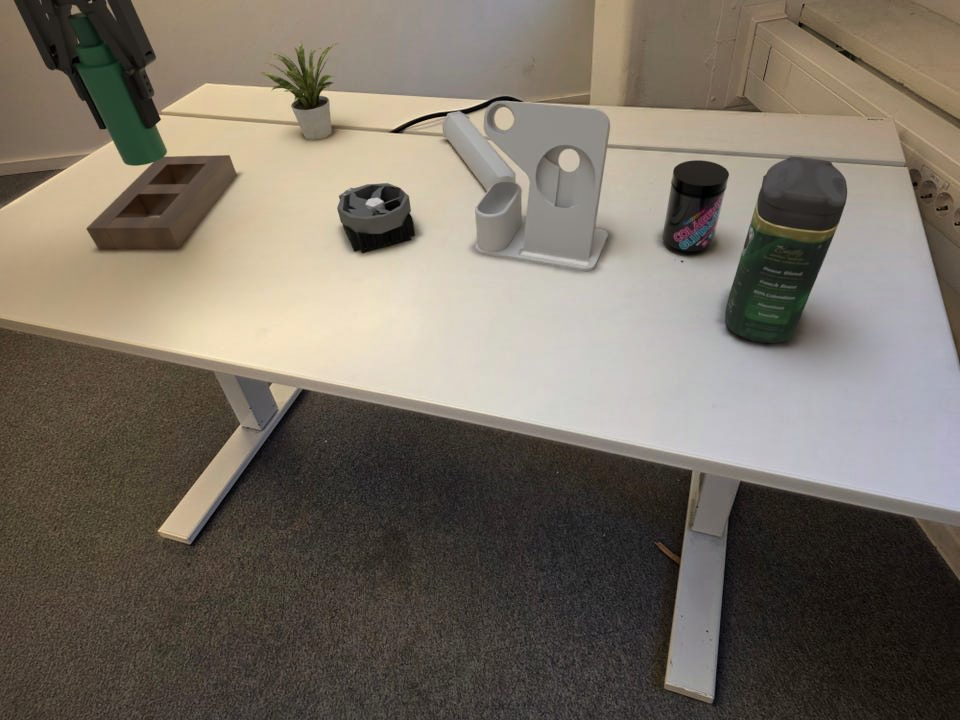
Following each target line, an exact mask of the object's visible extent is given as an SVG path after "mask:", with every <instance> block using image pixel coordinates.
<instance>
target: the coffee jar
mask: <svg viewBox="0 0 960 720" xmlns="http://www.w3.org/2000/svg"><path fill="white" fill-rule="evenodd" d="M847 185H848V184H847V180H846V178H845V176H844V175H843V173H842V172H841V171H840V170H839V169H838V168H837V167H835V165H833V163H832V162H831V161H830V160H823V159H817V158H809V157H803V156H802V157H800V156H788V157H787V158H786V159H783V160H781V161H779V162H777V163H774V164H773V165H771V167H769V168H768V170H767V171H766V173H765V174H764V175H763V177H762V182H761V186H760V190H759V192H758V195H757V199H756V203H755V206H754V210H753V213H752V216H751V220H750V223H749V227H748V230H747V234H746V237H745V240H744V244H743V247H742V251H741V254H740V258H739V261H738V265H737V269H736V272H735V275H734V278H733V282H732V285H731V288H730V292H729V295H728V299H727V302H726V306H725V311H724V316H725V317H724V320H725V321H724V322H725V324H726V327H727V328H728V329H729V331H731V332H732V333H734V334H735V335H738V336H740V337H743V338H744V339H747V340H750V341H753V342H758V343H767V344H769V343H770V344H771V343H772V344H775V343H776V344H777V343H783V342H786V341H788V340H790V339H791V338H792V337H793V336H794V334H795V331H796V329H797V327H798V325H799V322H800V320H801V318H802V314H803V313H804V310H805V307H806V304H807V302H808V300H809V297H810V295H811V293H812V290H813V287H814V286H815V283H816V281H817V278H818V275H819V274H820V271H821V269H822V266H823V263H824V261H825V259H826V256H827V254H828V251H829V249H830V247H831V244H832V241H833V239H834V237H835V233H836V231H837V229H838V226H839V224H840V221H841V219H842V216H843V212H844V209H845V207H846V205H847V204H846V203H847V199H848V186H847Z"/></svg>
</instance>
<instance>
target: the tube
mask: <svg viewBox="0 0 960 720" xmlns="http://www.w3.org/2000/svg"><path fill="white" fill-rule="evenodd" d="M441 124H442V125H441V127H442V136H443V137H444V138H446V139H447V140H448V142H449V143H450V144H451V146H452V147H453V148H454V149H455V151H456V152H457V154H458V155H459V156H460V158H461V159H462V160H463V162H464V163H465V164H466V165H467V167H468V168H469V170H470V171H471V172H472V173H473V175H474V177H476V179H477V180H478V182H479V183H480V184H481V186H482V187H483V188H484V190H485V191H486V192H487V191H488V190H489V188H490V187H491V186H492V185H493V184H495V183H498V182H502V181H510V182H514V183H517V180H516V176H517V175H516V172H515V170H514V169H512V167H511V166H510V164H508V163H507V161H506V160H505V159H504V158H503V157H502V156H501V155H500V153H499V152H498V151H497V150H496V149H495V148H494V147H493V145H492V144H491V143H490V142H489V140H488V139H487V138H486V137H485V136H484V135H483V133H482V132H481V131H480V130H479V129H478V128H477V126H476V125H475V124H474V123H473V122H472V121H471V119H470V116H468V114H465V113H463V112H462V111H460V110H458V111H454V112H453V111H452V112H448V113H447V114H446V116H445V118H444V120H443V121H442V123H441Z"/></svg>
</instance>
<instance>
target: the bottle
mask: <svg viewBox="0 0 960 720" xmlns="http://www.w3.org/2000/svg"><path fill="white" fill-rule="evenodd" d="M68 20H69V22H70V24H71V26H72V29H73V31H74V33H75V35H76V37H77V40H78V44H77V45H76V46H75V49H76V51H77V53H78V55H79V58H80V60H81V62H80V63H78V64H77V66H76V68H77V70H78V72H79V74H80V76H81V78H82V80H83V82H84V84H85V86H86V88H87V90H88V92H89V94H90V96H91V98H92V100H93V102H94V104H95V106H96V108H97V110H98V112H99V114H100V116H101V118H102V120H103V122H104V124H105V126H106V130H107V132H108V134H109V136H110V138H111V140H112V142H113V144H114V146H115V148H116V150H117V153H118V154H119V156H120V158H121V161H122V162H123V164H125V165H127V166H130V167H131V166H133V167H135V166H136V167H138V166H145V165H150V164H152V163H153V162H155V161H157V160H159V159H161V158H163V157H166V156H167V154H168V150H167V147H166V145H165V143H164V140H163V137H162V136H161V133H160V132H159V131H160V130H159V129H158V127H157V126H158V125H157V124H156V125H155V126H153V127H152V128H151V129H145V127H144V124H143V122H142V120H141V118H140V116H139V113H138V111H137V109H136V107H135V104H134V102H133V100H132V98H131V96H130V93H129V91H128V89H127V87H126V85H125V82H124V80H123V78H122V76H121V75H123V72H124V71H125V69H124V67H123V66H122V65H121V63H120V62H119V60H118V59H117V57H116V56H115V55H114V53H113V52H112V50H111V49H110V48H109V46H108V45H107V43H106V42H105V41H104V39H103V38H102V36H101V35H100V33H99V32H98V31H97V29H96V28H95V26H94V25H93V24H92V22H91V21H90V19H89V18H88V17H87V16H86V15H84V14H82V13H81V12H77V13H72V14H71V15H70V16H68Z"/></svg>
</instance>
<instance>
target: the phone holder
mask: <svg viewBox="0 0 960 720" xmlns="http://www.w3.org/2000/svg"><path fill="white" fill-rule="evenodd" d="M501 108H507V109H508V110H509V111H510V112H511V114H512V116H513V122H512V124H511V126H510V127H509V128H508V129H501V128H499V127H498V126H497V124H496V120H495V116H496V114H497V111H498V110H500V109H501ZM483 116H484V117H483V131H484V134H485V135H486V136H487V138H488V139H489V140H490V141H491V142H492V143H493V144H494V145H495V146H496V147H498V149H500V151H502V152H503V153H504V154H505V155H506V156H507V157H508V158H509V159H510V160H511V161H512V163H514V164H515V165H516V166H517V167H518V168H519V169H520V170H521V171H522V172H524V173H525V174H526V176H527V177H528V181H529V186H528V193H527V195H528V196H527V207H526V213H525V214H526V216H525V217H523V214H522V213H523V212H522V211H523V210H522V188H521V185H519V184H518V183H517V182H516V183H514V182H510V181H502V182H498V183H495V184H493V185H492V186H491V187H490V188H489V190H488V191H486V192H485V194H484V195H483V196H482V198H481V199H480V200H479V202H478V203H477V204H476V206H475V207H474V216H475V228H476V229H475V230H476V244H475V245H474V246H475V251H476V252H477V253H478V254H481V255H487V256H492V257H498V258H504V259H510V260H515V261H520V262H526V263H527V262H528V263H532V264H533V263H534V264H537V265H538V264H539V265H545V266H550V267H555V268H561V269H568V270H574V271H579V272H589V271H592V270H594V269H595V268H596V266H597V264H598V262H599V259H600V256H601V254H602V252H603V249H604V247H605V245H606V243H607V240H608V237H609V233H608V232H607V230H605V229H602V228H597V227H596V226H597V220H598V219H597V218H598V211H599V205H600V198H601V192H602V184H603V178H604V172H605V165H606V159H607V152H608V145H609V138H610V131H611V121H610V118H609V116H608V115H607V113H606V112H604V111H603V110H601V109H600V108H592V107H580V106H570V105H558V104H546V103H536V102H522V101H509V100H495V101H494V102H492V103H490V104H489V105H488V107H487V108H486V110H485V111H484V115H483ZM565 150H572V151H574V152H576V153H577V156H578V158H579V163H578V166H577V167H576V169H574V170H573V171H572V170H571V171H566V170H564V169H563V168H562V167H561V166H560V162H559V161H560V160H559V159H560V156H561V154H562V153H563V152H564V151H565ZM523 252H524V253H529V254H535V255H541V256H548V257H553V258H560V259H566V260H571V261H577V262H583V263H588V265H584V264H578V263H572V262H566V261H560V260H554V259H549V258H543V257H536V256H531V255H525V254H522V253H523Z"/></svg>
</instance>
